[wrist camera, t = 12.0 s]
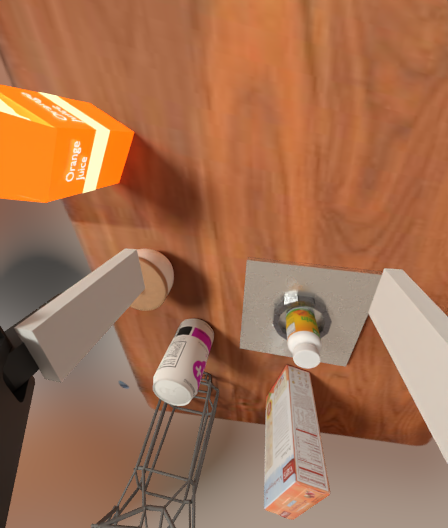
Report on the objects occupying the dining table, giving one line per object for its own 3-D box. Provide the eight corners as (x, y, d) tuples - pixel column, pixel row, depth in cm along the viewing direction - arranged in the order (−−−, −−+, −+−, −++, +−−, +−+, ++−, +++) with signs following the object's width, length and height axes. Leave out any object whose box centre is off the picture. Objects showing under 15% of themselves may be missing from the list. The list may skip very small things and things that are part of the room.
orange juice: (78, 157, 38) (-84, 171, 21) (89, 101, 34) (-105, 60, 16) (120, 184, 39) (-4, 218, 22) (135, 132, 34) (-4, 123, 17)
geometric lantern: (168, 354, 58) (57, 587, 27) (228, 366, 56) (183, 629, 26) (169, 391, 65) (84, 607, 35) (223, 403, 64) (183, 641, 33)
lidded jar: (139, 229, 42) (107, 250, 34) (190, 257, 43) (170, 284, 35) (126, 271, 48) (95, 298, 40) (171, 295, 48) (150, 326, 40)
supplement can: (216, 320, 49) (195, 384, 36) (213, 346, 53) (193, 412, 40) (180, 312, 50) (148, 372, 37) (180, 339, 54) (150, 400, 41)
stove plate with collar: (381, 271, 37) (389, 280, 35) (344, 361, 48) (347, 373, 45) (247, 256, 41) (245, 264, 38) (240, 344, 51) (238, 354, 49)
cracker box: (287, 403, 58) (293, 522, 40) (265, 395, 58) (261, 510, 40) (312, 371, 51) (333, 498, 33) (286, 362, 51) (293, 483, 33)
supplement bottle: (321, 314, 42) (333, 357, 34) (303, 332, 45) (311, 376, 36) (295, 301, 42) (301, 341, 33) (279, 320, 44) (281, 361, 36)
